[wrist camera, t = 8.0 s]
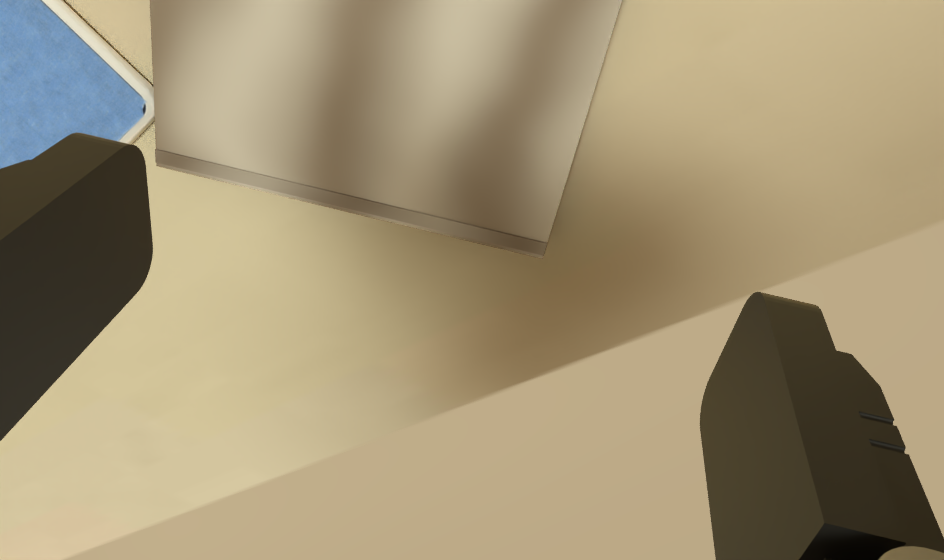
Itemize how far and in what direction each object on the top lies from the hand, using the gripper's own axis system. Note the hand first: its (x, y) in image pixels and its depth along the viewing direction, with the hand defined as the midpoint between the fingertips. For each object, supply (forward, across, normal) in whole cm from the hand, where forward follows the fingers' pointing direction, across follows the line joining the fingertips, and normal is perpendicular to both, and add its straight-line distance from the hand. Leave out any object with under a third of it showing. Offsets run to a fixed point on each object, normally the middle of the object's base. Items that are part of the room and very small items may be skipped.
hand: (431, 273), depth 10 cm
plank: (+20, +6, +5) cm, 21 cm away
